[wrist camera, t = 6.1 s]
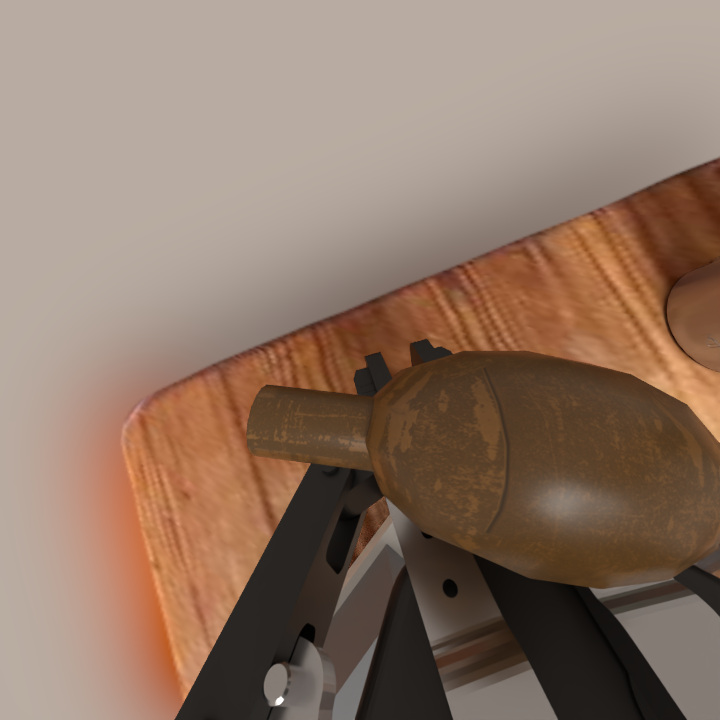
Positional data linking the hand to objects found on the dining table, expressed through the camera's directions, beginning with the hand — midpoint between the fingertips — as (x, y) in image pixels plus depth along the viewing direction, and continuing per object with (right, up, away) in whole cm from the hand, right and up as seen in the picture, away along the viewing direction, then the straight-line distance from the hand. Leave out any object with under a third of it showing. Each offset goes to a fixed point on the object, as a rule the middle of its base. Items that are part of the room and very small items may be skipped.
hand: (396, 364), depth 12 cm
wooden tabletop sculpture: (+1, -4, +10) cm, 10 cm away
